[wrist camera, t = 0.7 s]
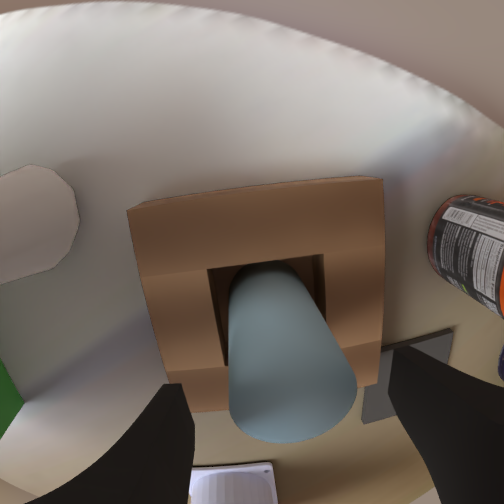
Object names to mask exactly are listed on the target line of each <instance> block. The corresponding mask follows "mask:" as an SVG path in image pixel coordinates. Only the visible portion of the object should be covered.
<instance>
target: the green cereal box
mask: <svg viewBox="0 0 504 504" xmlns="http://www.w3.org/2000/svg"><path fill="white" fill-rule="evenodd" d="M23 405H24V401H23V399H22V398H21V396H20V394H19V393H18V391H17V389H16V387H15V385H14V384H13V382H12V380H11V378H10V376H9V374H8V372H7V370H6V369H5V367H4V365H3V363H2V361H1V359H0V439H1V438H2V436H3V435H4V433H5V431H6V430H7V428H8V427H9V425H10V424H11V422H12V421H13V419H14V418H15V416H16V415H17V413H18V412H19V411H20V409H21V408H22V406H23Z"/></svg>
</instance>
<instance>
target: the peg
mask: <svg viewBox="0 0 504 504" xmlns="http://www.w3.org/2000/svg"><path fill="white" fill-rule="evenodd" d="M356 394H357V380H356V377H355V374H354V372H353V370H352V368H351V366H350V364H349V363H348V361H347V359H346V357H345V355H344V354H343V352H342V350H341V348H340V347H339V345H338V343H337V341H336V339H335V338H334V336H333V334H332V332H331V331H330V329H329V327H328V325H327V324H326V322H325V320H324V318H323V317H322V315H321V313H320V311H319V310H318V308H317V306H316V304H315V303H314V301H313V299H312V297H311V296H310V294H309V292H308V290H307V289H306V287H305V285H304V284H303V282H302V280H301V278H300V277H299V275H298V274H297V272H296V271H295V270H294V269H293V268H292V267H291V266H289V265H288V264H286V263H284V262H282V261H279V260H272V261H265V262H257V263H250V264H247V265H245V266H244V267H242V268H241V269H240V270H239V271H238V272H237V273H236V275H235V276H234V278H233V280H232V282H231V284H230V288H229V410H230V414H231V417H232V419H233V421H234V422H235V424H236V425H237V426H238V427H239V428H240V429H241V430H242V431H243V432H245V433H246V434H248V435H250V436H251V437H253V438H256V439H259V440H262V441H266V442H271V443H294V442H300V441H304V440H308V439H311V438H314V437H316V436H319V435H321V434H323V433H325V432H326V431H328V430H330V429H331V428H333V427H334V426H335V425H337V424H338V423H339V422H340V421H341V420H342V419H343V418H344V417H345V416H346V414H347V413H348V412H349V410H350V409H351V407H352V405H353V403H354V401H355V398H356Z"/></svg>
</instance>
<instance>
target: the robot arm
mask: <svg viewBox="0 0 504 504" xmlns="http://www.w3.org/2000/svg"><path fill="white" fill-rule="evenodd" d="M388 395H389V398H390V400H391V403H392V405H393V408H394V410H395V412H396V414H397V416H398V418H399V420H400V421H401V423H402V425H403V426H404V428H405V430H406V431H407V433H408V435H409V436H410V438H411V440H412V441H413V443H414V445H415V446H416V448H417V450H418V451H419V453H420V455H421V456H422V458H423V460H424V462H425V464H426V466H427V468H428V470H429V472H430V475H431V477H432V480H433V482H434V485H435V487H436V489H437V492H438V495H439V498H440V501H441V504H504V388H503V387H500V386H497V385H493V384H490V383H488V382H485V381H482V380H480V379H477V378H475V377H473V376H470V375H468V374H466V373H463V372H461V371H459V370H457V369H455V368H453V367H451V366H449V365H447V364H445V363H443V362H441V361H439V360H437V359H435V358H433V357H431V356H430V355H428V354H426V353H424V352H422V351H420V350H418V349H416V348H414V347H411V346H409V345H407V346H404V347H400V348H396V349H393V358H392V365H391V373H390V380H389V386H388ZM194 451H195V424H194V421H193V418H192V415H191V412H190V409H189V406H188V403H187V400H186V397H185V394H184V391H183V387H182V384H181V383H173V384H163V385H162V387H161V388H160V389H159V390H158V392H157V393H156V394H155V396H154V397H153V398H152V400H151V401H150V402H149V404H148V405H147V406H146V408H145V409H144V410H143V412H142V413H141V414H140V415H139V417H138V418H137V419H136V420H135V422H134V423H133V424H132V425H131V426H130V428H129V429H128V430H127V431H126V432H125V433H124V434H123V435H122V437H121V438H120V439H119V440H118V441H117V442H116V443H115V444H114V445H113V446H112V447H111V448H110V449H109V450H108V451H107V452H106V453H105V454H104V455H103V456H102V457H100V458H99V459H98V460H97V461H96V462H95V463H93V464H92V465H91V466H90V467H88V468H87V469H86V470H84V471H83V472H81V473H80V474H79V475H77V476H76V477H74V478H73V479H72V480H70V481H69V482H67V483H65V484H64V485H62V486H60V487H59V488H57V489H55V490H53V491H51V492H49V493H48V494H46V495H43V496H41V497H39V498H37V499H34V500H32V501H30V502H27V503H25V504H187V502H188V494H190V496H191V504H278V500H277V493H276V486H275V480H274V473H273V466H272V463H270V462H262V463H253V464H244V465H233V466H219V467H199V468H192V466H193V458H194Z"/></svg>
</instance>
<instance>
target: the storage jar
mask: <svg viewBox="0 0 504 504" xmlns="http://www.w3.org/2000/svg"><path fill="white" fill-rule="evenodd" d="M498 373H499V376H500V378H501V379H502V380H503V381H504V345H503V347H502V350H501V353H500V357H499V361H498Z"/></svg>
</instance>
